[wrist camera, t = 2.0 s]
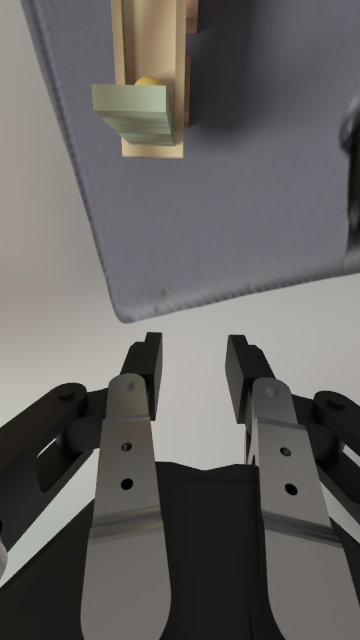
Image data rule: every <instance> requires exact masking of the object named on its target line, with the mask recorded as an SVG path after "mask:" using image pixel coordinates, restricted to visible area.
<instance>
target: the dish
mask: <svg viewBox="0 0 360 640" xmlns="http://www.w3.org/2000/svg"><path fill="white" fill-rule="evenodd" d="M197 20H198V0H187V1H186V33H190V34H197Z"/></svg>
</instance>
